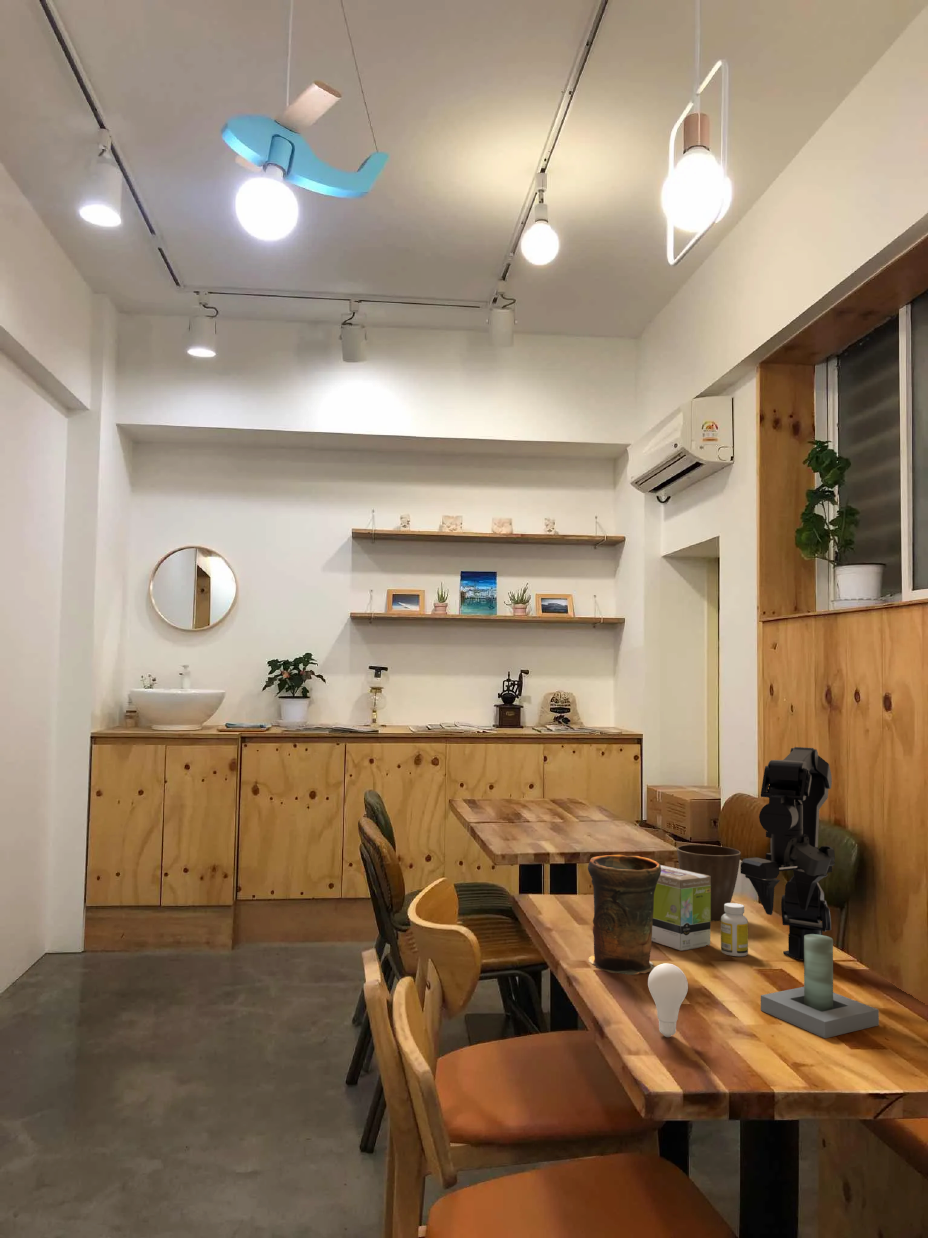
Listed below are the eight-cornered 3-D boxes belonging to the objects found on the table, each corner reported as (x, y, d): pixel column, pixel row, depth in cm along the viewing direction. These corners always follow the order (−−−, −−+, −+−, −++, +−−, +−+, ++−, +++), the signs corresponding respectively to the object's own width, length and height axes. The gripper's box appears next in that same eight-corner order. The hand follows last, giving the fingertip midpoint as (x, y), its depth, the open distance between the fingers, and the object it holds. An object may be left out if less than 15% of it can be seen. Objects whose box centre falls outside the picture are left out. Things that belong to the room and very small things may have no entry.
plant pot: (663, 915, 210) (664, 848, 211) (698, 906, 220) (698, 842, 221) (719, 929, 199) (719, 858, 200) (752, 919, 209) (752, 851, 210)
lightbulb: (642, 1029, 138) (643, 958, 139) (680, 1029, 139) (680, 958, 140) (654, 1045, 132) (654, 970, 133) (693, 1044, 133) (693, 970, 134)
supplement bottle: (748, 951, 182) (748, 903, 183) (747, 958, 177) (747, 909, 178) (721, 948, 184) (721, 900, 185) (720, 955, 179) (720, 906, 180)
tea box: (712, 946, 186) (712, 875, 187) (680, 952, 180) (680, 880, 181) (659, 928, 198) (660, 862, 199) (627, 934, 192) (628, 866, 194)
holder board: (813, 999, 154) (813, 985, 154) (878, 1025, 143) (878, 1009, 143) (760, 1010, 148) (760, 995, 148) (824, 1038, 137) (824, 1022, 137)
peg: (810, 1010, 149) (809, 932, 150) (837, 1018, 146) (836, 938, 147) (800, 1017, 145) (800, 937, 146) (827, 1025, 142) (827, 943, 143)
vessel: (660, 955, 177) (661, 856, 179) (660, 979, 164) (661, 871, 165) (590, 949, 181) (590, 851, 182) (583, 972, 167) (584, 866, 168)
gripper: (786, 837, 153) (786, 928, 152) (856, 832, 162) (857, 918, 161) (738, 828, 163) (738, 913, 162) (807, 823, 172) (807, 904, 170)
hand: (786, 912), depth 163 cm, fingers open, 9 cm apart
